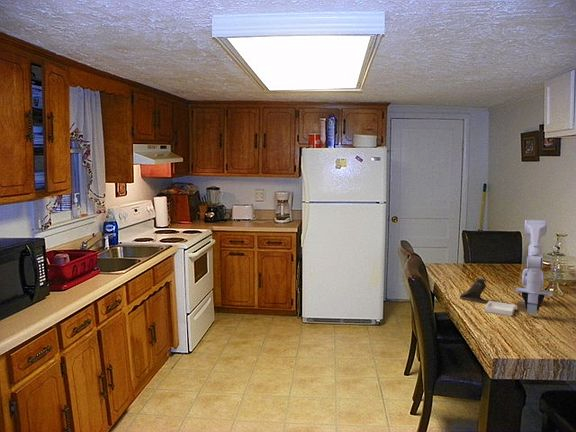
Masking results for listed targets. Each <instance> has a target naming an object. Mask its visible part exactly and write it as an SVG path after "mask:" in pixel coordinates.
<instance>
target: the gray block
mask: <svg viewBox="0 0 576 432" xmlns="http://www.w3.org/2000/svg"><path fill="white" fill-rule="evenodd" d="M537 306H538V304H536V303H529V302H528V304H527V311H526V313H527V314H532V315H537V314H538V311H537Z"/></svg>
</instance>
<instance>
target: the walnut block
mask: <svg viewBox="0 0 576 432" xmlns="http://www.w3.org/2000/svg"><path fill="white" fill-rule="evenodd" d="M516 305H517V307H516V311H518V312H522V313H523V312H524V313H527V309H526V306H525V302H523V300H518V301H517V304H516Z"/></svg>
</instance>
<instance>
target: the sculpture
mask: <svg viewBox="0 0 576 432" xmlns="http://www.w3.org/2000/svg"><path fill="white" fill-rule="evenodd" d="M486 287H487V284H486V279H485V278H484V277H478V278H477V279H476V280H475V281H474V283H473V284H472V285H471V286H470V288H469V289H468V290H466V291H465V292H463V293H462V294H460V295H459V299H460V300H463V301H468V302H473V303H478V304H482V305H483V304H487V300H486V299H484V298H482V297H481V296H482V293H483V292H484V290H485V288H486Z"/></svg>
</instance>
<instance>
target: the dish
mask: <svg viewBox="0 0 576 432" xmlns="http://www.w3.org/2000/svg"><path fill="white" fill-rule="evenodd" d="M515 310H516V304H513V303H505V302H500V301H499V302H498V301H492V300H488V302H487V303H486V305H485V307H484V313H487V314H493V315H500V316H506V317H513V315H514V313H515Z"/></svg>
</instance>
